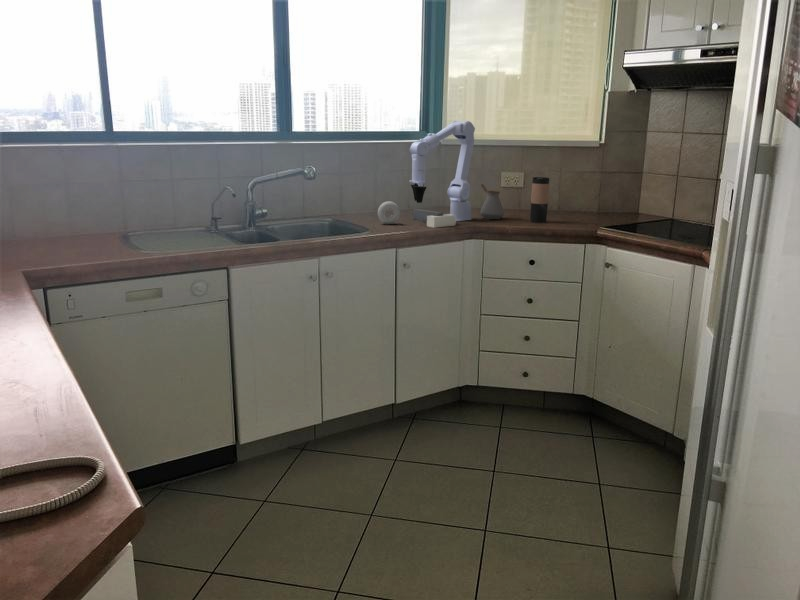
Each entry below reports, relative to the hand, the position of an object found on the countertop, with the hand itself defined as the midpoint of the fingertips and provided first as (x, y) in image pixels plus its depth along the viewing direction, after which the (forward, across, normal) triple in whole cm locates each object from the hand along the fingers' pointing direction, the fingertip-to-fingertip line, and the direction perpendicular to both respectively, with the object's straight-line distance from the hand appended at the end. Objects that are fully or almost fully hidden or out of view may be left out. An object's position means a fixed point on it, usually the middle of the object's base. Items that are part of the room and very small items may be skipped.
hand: (418, 201), depth 293 cm
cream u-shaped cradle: (+10, +7, +9) cm, 15 cm away
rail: (+10, -6, +5) cm, 13 cm away
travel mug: (+10, -5, +56) cm, 57 cm away
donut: (+10, +2, -13) cm, 17 cm away
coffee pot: (+10, -21, +36) cm, 43 cm away
